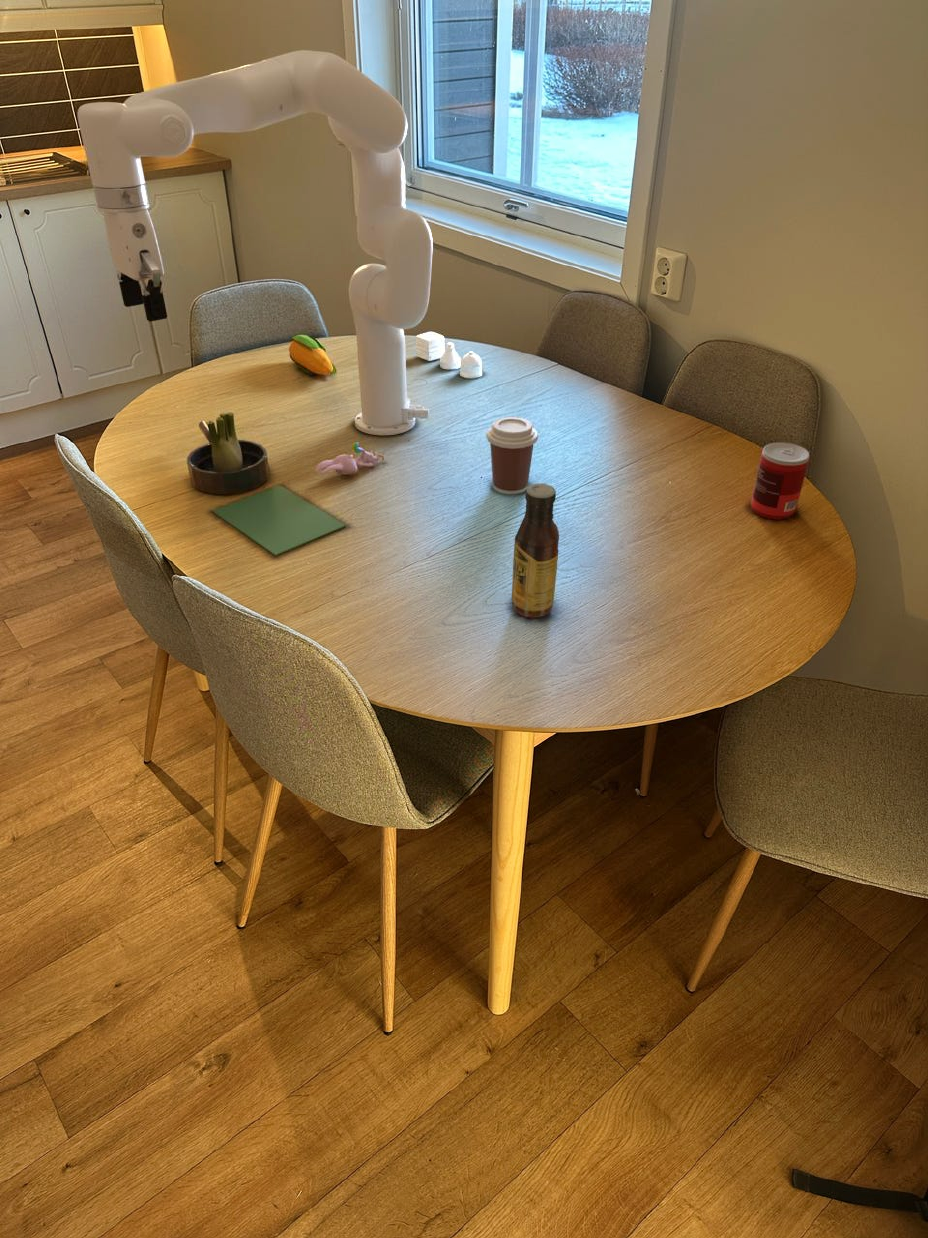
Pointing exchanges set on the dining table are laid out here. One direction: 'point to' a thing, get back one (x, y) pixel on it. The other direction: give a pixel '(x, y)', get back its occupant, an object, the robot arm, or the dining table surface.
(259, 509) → the cloth
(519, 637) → the dining table surface
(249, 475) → the pan
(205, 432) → the pan handle
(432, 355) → the container set
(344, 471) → the rabbit figure
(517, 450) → the coffee cup
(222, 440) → the fennel bulb
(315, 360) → the corn
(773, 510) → the canned food
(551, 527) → the sauce bottle
